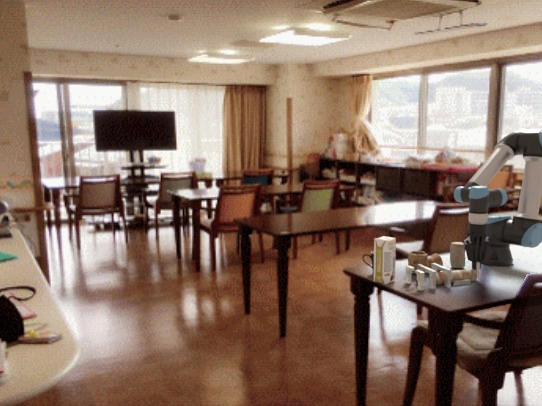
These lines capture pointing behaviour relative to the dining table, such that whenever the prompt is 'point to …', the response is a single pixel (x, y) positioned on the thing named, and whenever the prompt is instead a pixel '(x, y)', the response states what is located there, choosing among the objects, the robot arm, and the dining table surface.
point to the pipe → (423, 259)
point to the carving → (457, 255)
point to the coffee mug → (371, 259)
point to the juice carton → (384, 259)
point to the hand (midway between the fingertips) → (475, 276)
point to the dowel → (456, 275)
